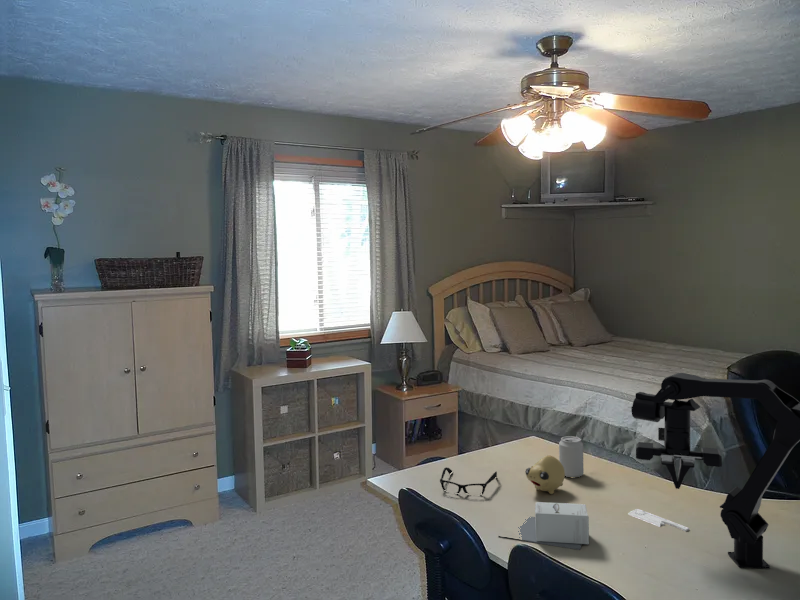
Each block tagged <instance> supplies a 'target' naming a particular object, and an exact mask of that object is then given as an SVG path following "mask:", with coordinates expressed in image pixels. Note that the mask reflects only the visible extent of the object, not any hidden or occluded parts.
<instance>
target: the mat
mask: <svg viewBox="0 0 800 600" xmlns="http://www.w3.org/2000/svg"><path fill="white" fill-rule="evenodd" d="M530 517H531V518H530ZM530 517H529V518H528V519H527V520H526V519H525V520H526V521H527V522H526V521H525V522H526V523H525V522H524V523H525V524H524V523H523V525H522V526H520V528H521V529H520V528H519V527H518V528H519V529H520V532H521V533H519V535H520V534H521V535H522V536H521V537H522V540H525V541H524V542H527V541H528V543H533V544H541V545H546V546H554V547H559V548H560V547H561V548H565V549H573V550H579V551H580V550H581V548H582V545H583V544H574V543H559V542H543V541H537V540H536V521H535V516H530ZM518 532H519V531H518ZM519 538H520V537H519Z"/></svg>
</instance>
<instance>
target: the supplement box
mask: <svg viewBox="0 0 800 600" xmlns="http://www.w3.org/2000/svg"><path fill="white" fill-rule="evenodd" d="M534 509H535V513H534V515H535V516H534V517H535V521H536V540H537V541H543V542H559V543H574V544H582V545H589V543H590V537H589V536H590V526H589V525H590V521H589V520H590V519H589V514H588V510H587V505H586V504H585V503H583V504H582V503H567V502H566V503H565V502H542V501H535V508H534Z"/></svg>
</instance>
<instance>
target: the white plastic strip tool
mask: <svg viewBox="0 0 800 600" xmlns="http://www.w3.org/2000/svg"><path fill="white" fill-rule="evenodd" d="M627 515H628V516H630V517H633V518H636V519H639V520H641V521H644V522H646V523H648V524H652V525H654V526H656V527H659V528H661V526H665V525H669V526H672V527H674V528H676V529H679V530H682V531H684V532H688V531H690V527H687V526H685V525H683V524H679V523H677V522H674V521H671V520H670V519H667V518H664V517H661V516H659V515H656V514H653V513H650V512H648V511H645V510H642V509H640V508H635V509H633V510H631V511H629V512H628V513H627Z"/></svg>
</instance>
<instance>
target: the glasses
mask: <svg viewBox="0 0 800 600" xmlns="http://www.w3.org/2000/svg"><path fill="white" fill-rule="evenodd" d="M452 471H453V470H452V469H451V468H449V467H444V469H443V470H442V472H441V478H440V479H439V482H440V485H441V488H442V490H443V491H444V490H446V488H445V486H444V485H445V483H448V484H451V485H456V486H457V487H458V488H457V489H458V490H457V492H456V493H459V494H460V492H461V491H463V492H464V494H465V493H468V494H469V492H468V491H467V488H466V487H470V486H479V487H480V486H481V487H482V491H481V493H482V495H483V494H484V493H485V491H486V487H487V485H488V484H489V483H491V482H492V481H494V480H496V479H495V477H497V478H498V472H497V471H495V472H494V473H492V475H491V476H490V477H489V478H488V479H487V481H485V482H484V483H469V484H459V483H457V482H454V481H449V480H444V476H445V474H446V472H447V473H448V474H449V475H450V473H451V472H452Z"/></svg>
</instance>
